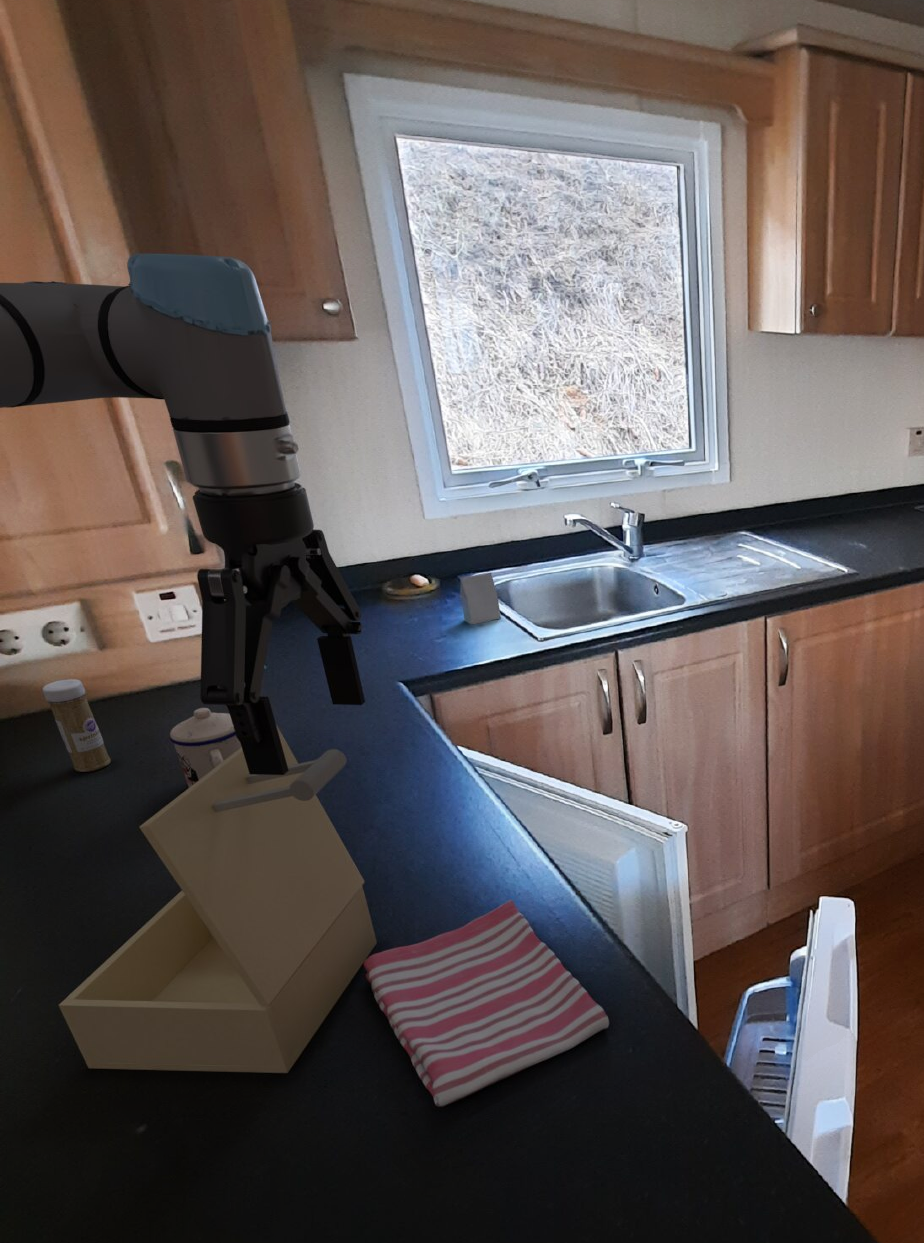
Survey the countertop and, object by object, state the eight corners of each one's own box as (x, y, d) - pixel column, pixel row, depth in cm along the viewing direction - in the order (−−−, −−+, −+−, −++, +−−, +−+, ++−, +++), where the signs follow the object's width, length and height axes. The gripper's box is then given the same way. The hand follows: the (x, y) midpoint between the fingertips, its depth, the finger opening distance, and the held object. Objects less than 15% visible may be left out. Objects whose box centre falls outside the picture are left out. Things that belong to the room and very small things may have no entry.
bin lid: (138, 826, 70) (255, 802, 69) (268, 725, 87) (364, 703, 85) (260, 1007, 79) (366, 987, 77) (358, 883, 95) (446, 865, 94)
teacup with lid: (184, 778, 131) (160, 706, 125) (254, 761, 136) (233, 692, 130) (193, 812, 122) (167, 737, 117) (267, 793, 127) (246, 721, 122)
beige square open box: (88, 1068, 82) (57, 1005, 79) (211, 938, 99) (190, 881, 95) (287, 1073, 82) (266, 1010, 79) (377, 942, 99) (362, 886, 95)
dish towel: (516, 917, 103) (512, 892, 102) (613, 1032, 88) (611, 1006, 86) (362, 979, 94) (355, 953, 92) (440, 1122, 78) (433, 1094, 76)
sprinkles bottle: (103, 771, 132) (70, 689, 126) (68, 774, 131) (34, 691, 125) (117, 757, 136) (87, 676, 130) (83, 760, 135) (51, 678, 129)
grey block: (500, 618, 197) (494, 574, 192) (471, 624, 193) (464, 580, 188) (493, 614, 199) (487, 570, 195) (464, 620, 195) (457, 576, 191)
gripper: (195, 523, 56) (278, 810, 66) (371, 460, 78) (413, 680, 88) (77, 520, 56) (176, 807, 66) (286, 457, 78) (338, 679, 88)
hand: (312, 735), depth 77 cm, fingers open, 13 cm apart
